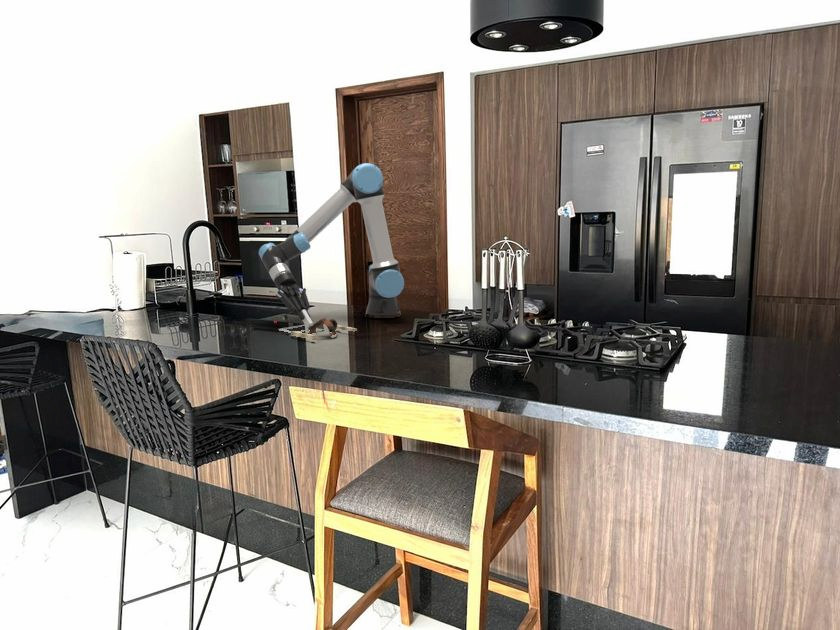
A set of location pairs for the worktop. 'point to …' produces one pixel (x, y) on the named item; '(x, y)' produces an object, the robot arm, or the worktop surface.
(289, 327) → the tray
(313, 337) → the guide channel
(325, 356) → the worktop surface
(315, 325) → the broken clay vessel
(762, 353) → the worktop surface
